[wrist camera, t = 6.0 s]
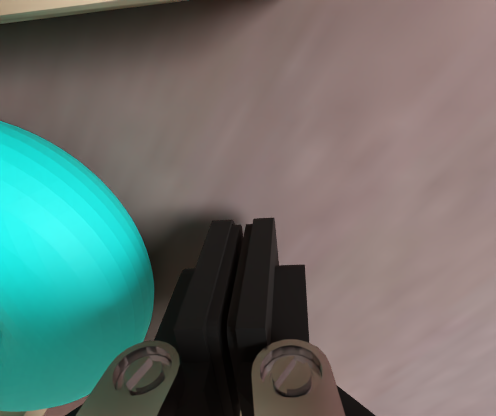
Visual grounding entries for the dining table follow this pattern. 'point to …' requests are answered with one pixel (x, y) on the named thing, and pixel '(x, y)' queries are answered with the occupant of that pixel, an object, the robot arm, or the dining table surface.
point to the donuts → (63, 275)
